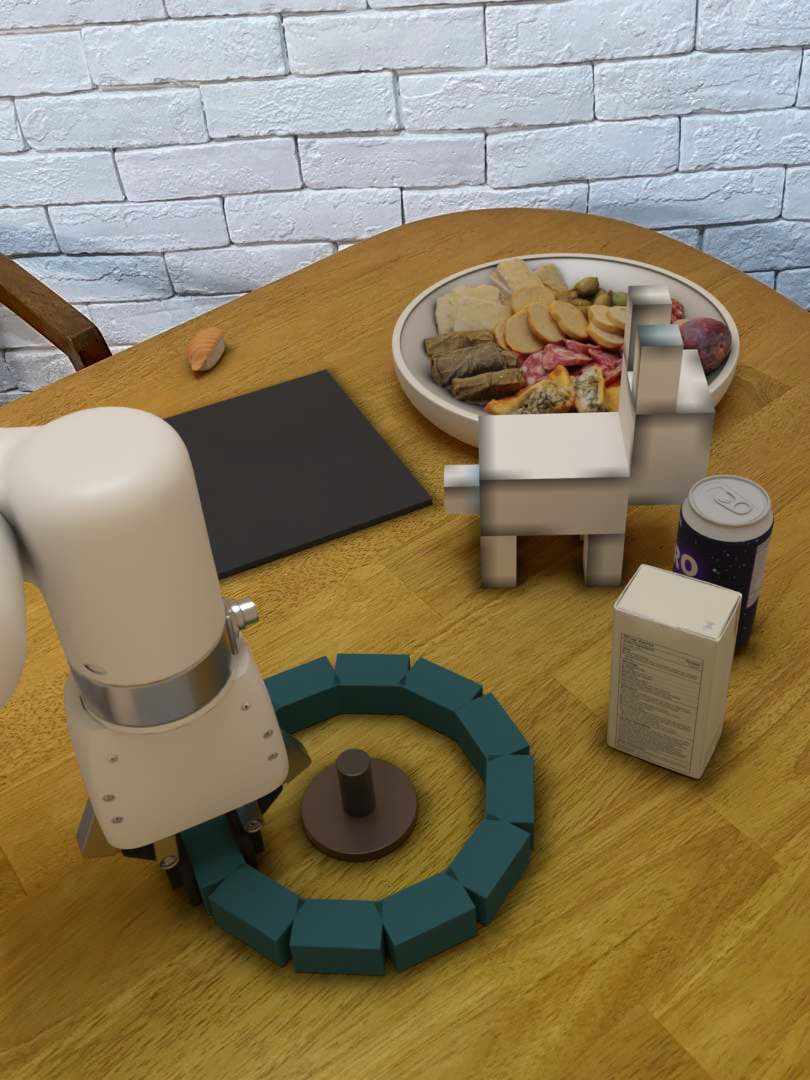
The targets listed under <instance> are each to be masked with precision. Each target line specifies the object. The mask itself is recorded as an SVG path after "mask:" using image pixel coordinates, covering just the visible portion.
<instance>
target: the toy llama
mask: <svg viewBox="0 0 810 1080" xmlns="http://www.w3.org/2000/svg"><path fill="white" fill-rule="evenodd" d="M671 310H672V301H671V298H670V294H669V291H668V287H667V285H642V286H628V296H627V309H626V322H625V335H624V347H623V360H622V373H621V386H620V399H619V412H598V413H560V414H523V415H486V416H478V431H479V448H478V464H445V465H444V468H443V497H444V514H445V515H464V514H465V515H469V514H473V515H474V514H479V526H480V529H479V530H480V531H479V533H480V534H479V535H480V536H479V537H480V572H481V573H480V575H481V576H480V577H481V578H480V579H481V581H480V583H481V589H509V588H510V589H511V588H512V589H513V588H514V589H516V588H517V537H519V536H522V537H524V536H569V535H571V536H572V535H574V536H575V535H579V541H580V542H583V551H582V552H583V553H582V569H583V578H584V585H585V587H621V582H622V571H623V560H624V549H625V539H626V538H625V537H626V528H627V515H628V506H630V507H631V506H632V507H633V506H675V505H676V506H677V505H678V506H679V505H680V506H681V505H682V503H683V502H684V500H685V499H686V498H687V497H688V496H689V492H690V490H691V488H692V487H693V486H694V484H695V483H697V482H698V481H700V480H702V479H704V478H707V476H708V475H707V474H708V469H709V468H708V467H709V461H710V453H711V447H712V440H713V434H714V427H715V419H716V414H717V412H716V409H715V407H714V405H713V402H712V398H711V395H710V391H709V388H708V384H707V381H706V378H705V374H704V371H703V367H702V364H701V360H700V357H699V354H698V350H697V349H693V350H683V346H684V345H683V341H682V338H681V334H680V330H679V327H678V324H670V319H671Z"/></svg>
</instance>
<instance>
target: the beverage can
mask: <svg viewBox="0 0 810 1080" xmlns="http://www.w3.org/2000/svg"><path fill="white" fill-rule="evenodd" d="M771 505H772V502H771V498H770V496H769V494H768V492H767V491H766V489H764V488H763V487H762V486H761V485H760V484H759V483H757V482H755V481H753V480H751V479H749V478H746V477H743V476H739V475H734V474H715V475H714V474H713V475H710V476H706V478H704V479H702V480H700V481H698V482H697V483H695V484H694V486H693V487H692V488H691V490H690V492H689V496H688V497H687V498H686V499H685V500H684V502H683V503H682V505H680V510H679V517H678V525H677V532H676V539H675V540H676V541H675V547H674V554H673V555H674V556H673V562H672V570H671V572H674V573H677V574H681V575H685V576H688V577H691V578H695V579H698V580H702V581H705V582H708V583H712V584H715V585H718V586H721V587H724V588H727V589H730V590H733V591H736V592H739V593H741V594H742V600H741V607H740V614H739V621H738V628H737V635H736V642H735V649H734V653H735V652H737V651H739V650H741V649H743V647H745V646H746V645H747V644H748V643H749V641H750V639H751V637H752V634H753V629H754V623H755V620H756V614H757V609H758V603H759V598H760V593H761V589H762V584H763V578H764V573H765V569H766V563H767V559H768V555H769V554H768V553H769V549H770V544H771V540H772V535H773V529H774V524H775V515H774V512H773V510H772V507H771Z"/></svg>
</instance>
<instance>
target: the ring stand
mask: <svg viewBox="0 0 810 1080" xmlns="http://www.w3.org/2000/svg"><path fill="white" fill-rule="evenodd" d="M418 814H419V803H418V795H417V791H416V788H415V786H414V783H413V782H412V780H411V779H410V777H409V776H408V775H407V774H406V773H405V772H404V771H403V770H402V769H401V768H400V767H398V766H397V765H395V764H394V763H392V762H389V761H387V760H384V759H380V758H376V757H370V756H369V754H368V753H367V752H366V751H364V750H362V749H360V748H350V749H349V748H348V749H346V750H343V751H342V752H341V753H340V754H339V755H338V756H337V758H336V761H335V762H334V763H332V764H331V765H328V766H327V767H325V768H324V769H323V770H321V771H320V772H318V773H317V775H315V776H314V777H313V779H312V780H311V781H310V782H309V784H308V786H307V787H306V789H305V791H304V793H303V796H302V799H301V805H300V815H301V816H300V817H301V821H302V826H303V829H304V832H305V834H306V837H308V840H309V841H310V842H311V843H312V844H313V846H314V847H315V848H317V849H318V850H319V851H321V852H322V853H324V854H325V855H327V856H329V857H331V858H334V859H336V860H340V861H346V862H367V861H372V860H375V859H376V860H377V859H378V858H382V857H384V856H386V855H389V854H390V853H392V852H394V851H395V850H397V849H398V848H399V847H400V846H401V845H403V843H404V842H405V841H406V840H407V839H408V838H409V836H410V835H411V833H412V832H413V830H414V828H415V825H416V823H417V820H418Z"/></svg>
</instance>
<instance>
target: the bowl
mask: <svg viewBox="0 0 810 1080" xmlns="http://www.w3.org/2000/svg"><path fill="white" fill-rule="evenodd" d="M642 285H667V287H668V291H669V294H670V298H671V301H672V310H671V319H670V324H678V327H679V330H680V334H681V338H682V341H683V345H684V346H683V350H693V349H697V350H698V354H699V357H700V360H701V364H702V367H703V371H704V374H705V378H706V381H707V384H708V388H709V391H710V395H711V398H712V402H713V405H714V408H715V407H717V405H718V404H719V403H720V401H721V400H722V399H723V397H724V396H725V394H726V393H727V391H728V389H729V387H730V386H731V383H732V381H733V379H734V376H735V373H736V370H737V367H738V366H737V365H738V361H739V354H740V343H741V342H740V335H739V331H738V327H737V325H736V322H735V321H734V319H733V317H732V315H731V313H730V312H729V311H728V309H727V308H726V307H725V306H724V305H723V304H722V302H721V301H719V300H718V299H717V298H716V297H715V296H714V295H713V294H712V293H710V292H709V291H708V290H706V289H705V288H704V287H702V286H700V285H699V284H697V283H695V282H693V281H692V280H690V279H688V278H686V277H684V276H682V275H680V274H677V273H676V272H672V271H670V270H668V269H665V268H663V267H659V266H656V265H652V264H650V263H646V262H643V261H638V260H633V259H629V258H624V257H619V256H612V255H605V254H595V253H578V252H574V253H573V252H550V253H535V254H526V255H519V256H512V257H507V258H502V259H501V258H500V259H497V260H496V259H495V260H493V261H488V262H485V263H481V264H477V265H474V266H472V267H468V268H465V269H463V270H461V271H458V272H455V273H454V274H451V275H449V276H447V277H444V278H443V279H441V280H439V281H437V282H436V283H433V284H432V285H431V286H429V287H427V288H426V289H424V290H423V291H422V292H420V293H419V294H418V295H416V297H414V299H412V301H411V302H410V303H409V304H408V305H407V306H406V307H405V308H404V309H403V311H402V312H401V314H400V315H399V317H398V319H397V320H396V324H395V326H394V328H393V332H392V336H391V353H392V362H393V367H394V371H395V374H396V378H397V379H398V382H399V384H400V387H401V388H402V390H403V392H404V394H405V395H406V397H407V399H408V400H409V401H410V403H411V404H412V406H414V408H415V409H416V410H417V411H418V412H419V413H420V414H421V415H422V416H423V417H424V418H425V419H426V420H428V421H429V422H430V423H431V424H432V425H434V426H435V427H436V428H438V429H439V430H441V431H443V432H444V433H446V434H447V435H449V436H450V437H452V438H454V439H456V440H458V441H460V442H463V443H464V444H467V445H468V446H471V447H474V448H476V449H479V431H478V416H486V415H523V414H560V413H598V412H619V399H620V386H621V373H622V360H623V347H624V335H625V322H626V309H627V296H628V286H642Z"/></svg>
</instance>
